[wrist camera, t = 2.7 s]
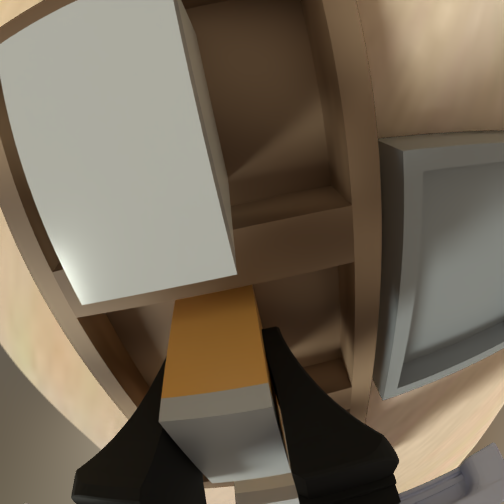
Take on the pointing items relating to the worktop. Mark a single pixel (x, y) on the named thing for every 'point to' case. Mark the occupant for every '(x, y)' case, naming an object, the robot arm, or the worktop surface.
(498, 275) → the tray
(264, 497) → the block
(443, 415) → the worktop surface
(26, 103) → the block
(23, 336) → the worktop surface
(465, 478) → the robot arm
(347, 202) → the holder
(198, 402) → the grey and orange block
